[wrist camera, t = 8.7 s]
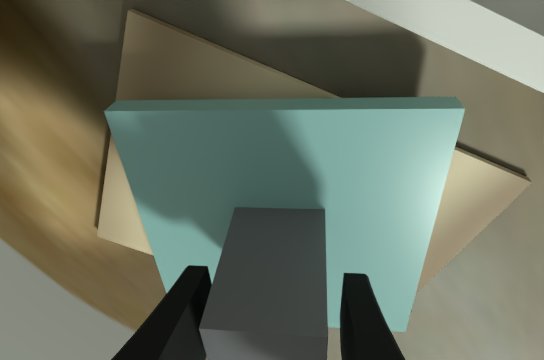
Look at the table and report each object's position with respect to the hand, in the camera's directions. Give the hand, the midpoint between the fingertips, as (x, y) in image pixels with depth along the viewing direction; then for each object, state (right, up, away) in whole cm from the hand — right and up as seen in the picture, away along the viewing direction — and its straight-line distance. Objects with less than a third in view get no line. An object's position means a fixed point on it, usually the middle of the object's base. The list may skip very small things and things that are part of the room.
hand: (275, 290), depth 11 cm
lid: (0, +2, +3) cm, 4 cm away
